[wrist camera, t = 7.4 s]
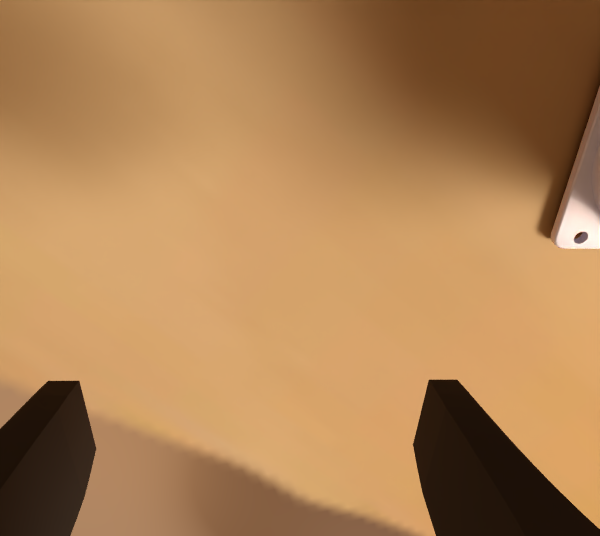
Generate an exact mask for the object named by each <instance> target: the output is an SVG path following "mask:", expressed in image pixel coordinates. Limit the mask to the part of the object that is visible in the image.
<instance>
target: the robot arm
mask: <svg viewBox="0 0 600 536" xmlns="http://www.w3.org/2000/svg"><path fill="white" fill-rule="evenodd" d="M579 232H582V234H581V236H580V237H578V238H576V239H574V237H575V236H576V234H578V233H579ZM551 240H552V242H553V243H554V244H555V245H556V246H557V247H559V248H563V249H600V87H599V90H598V93H597V96H596V99H595V102H594V105H593V108H592V111H591V114H590V117H589V120H588V123H587V126H586V129H585V132H584V135H583V138H582V141H581V144H580V147H579V150H578V153H577V156H576V159H575V162H574V165H573V168H572V172H571V175H570V178H569V181H568V184H567V187H566V190H565V193H564V196H563V199H562V202H561V205H560V208H559V211H558V214H557V217H556V220H555V223H554V226H553V229H552V232H551ZM413 447H414V452H415V457H416V463H417V468H418V473H419V478H420V483H421V488H422V492H423V496H424V499H425V502H426V505H427V508H428V512H429V515H430V518H431V521H432V524H433V527H434V531H435V534H436V536H600V529H599V528H598V527H596V526H595V525H594V524H593V523H592V522H591V521H590V520H589V519H588V518H587V517H586V516H584V515H583V514H582V513H581V512H580V511H579V510H578V509H577V508H576V507H575V506H574V505H573V504H572V503H571V502H570V501H569V500H568V499H567V498H566V497H565V496H564V495H563V494H562V493H561V492H560V491H559V490H558V489H557V488H556V487H555V486H554V485H553V484H552V483H551V482H550V481H549V480H548V479H547V478H546V477H545V476H544V475H543V474H542V473H541V472H540V471H539V470H538V469H537V468H536V467H535V466H534V465H533V464H532V463H531V462H530V460H529V459H528V458H527V457H526V456H525V455H524V454H523V453H522V452H521V451H520V450H519V449H518V448H517V447H516V446H515V444H514V443H513V442H512V441H511V440H510V439H509V438H508V437H507V436H506V435H505V433H504V432H503V431H502V430H501V429H500V428H499V427H498V426H497V424H496V423H495V422H494V421H493V420H492V419H491V418H490V416H489V415H488V414H487V413H486V412H485V411H484V410H483V408H482V407H481V406H480V405H479V404H478V403H477V402H476V400H475V399H474V398H473V397H472V396H471V395H470V394H469V392H468V391H467V390H466V389H465V388H464V387H463V386H462V385H461V383H460V382H459V381H458V380H429V382H428V386H427V390H426V394H425V398H424V402H423V406H422V410H421V415H420V419H419V423H418V427H417V431H416V435H415V439H414V443H413ZM95 451H96V446H95V442H94V438H93V434H92V430H91V426H90V422H89V418H88V414H87V410H86V406H85V402H84V398H83V394H82V390H81V386H80V382H79V381H48V382H47V383H46V384H45V385H43V386H42V387H41V388H40V389H39V390H38V391H37V392H36V393H35V394H34V395H33V396H32V397H31V398H30V399H29V401H28V402H26V403H25V405H23V406H22V407H21V408H20V409H19V411H17V412H16V413H15V415H14V416H13V417H12V418H11V419H10V420H9V421H8V422H7V423H6V424H5V425H4V426H3V427H2V428H1V429H0V536H70V535H71V532H72V529H73V527H74V524H75V522H76V519H77V516H78V513H79V511H80V508H81V505H82V502H83V500H84V496H85V492H86V489H87V485H88V481H89V477H90V473H91V468H92V464H93V460H94V456H95Z"/></svg>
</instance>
